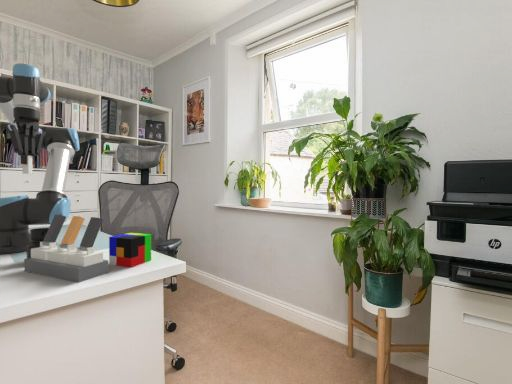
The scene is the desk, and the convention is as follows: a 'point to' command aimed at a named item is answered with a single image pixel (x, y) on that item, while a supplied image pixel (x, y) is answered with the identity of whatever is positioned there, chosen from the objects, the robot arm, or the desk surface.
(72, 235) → the lever
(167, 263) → the desk surface
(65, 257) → the block
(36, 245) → the ink bottle
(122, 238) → the puzzle toy
